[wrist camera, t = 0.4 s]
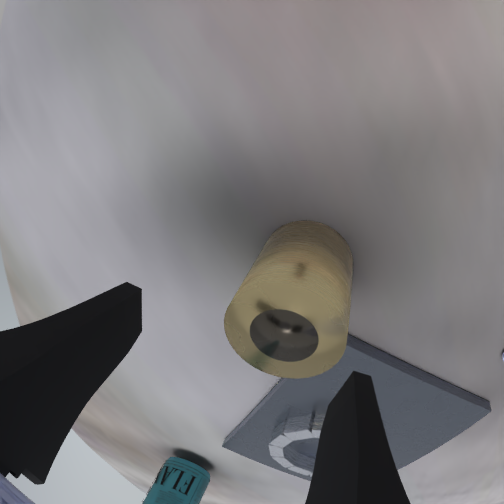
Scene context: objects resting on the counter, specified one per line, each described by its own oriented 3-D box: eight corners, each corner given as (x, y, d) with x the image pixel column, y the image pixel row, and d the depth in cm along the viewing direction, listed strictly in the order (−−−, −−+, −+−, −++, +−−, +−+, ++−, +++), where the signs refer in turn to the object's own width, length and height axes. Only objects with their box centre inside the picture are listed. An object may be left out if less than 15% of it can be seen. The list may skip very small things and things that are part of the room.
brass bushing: (370, 249, 16) (372, 324, 11) (324, 314, 19) (307, 392, 14) (285, 203, 16) (250, 260, 11) (249, 275, 19) (209, 344, 14)
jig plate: (489, 401, 18) (494, 426, 16) (350, 484, 29) (346, 502, 27) (327, 323, 19) (321, 352, 17) (225, 438, 30) (216, 457, 28)
